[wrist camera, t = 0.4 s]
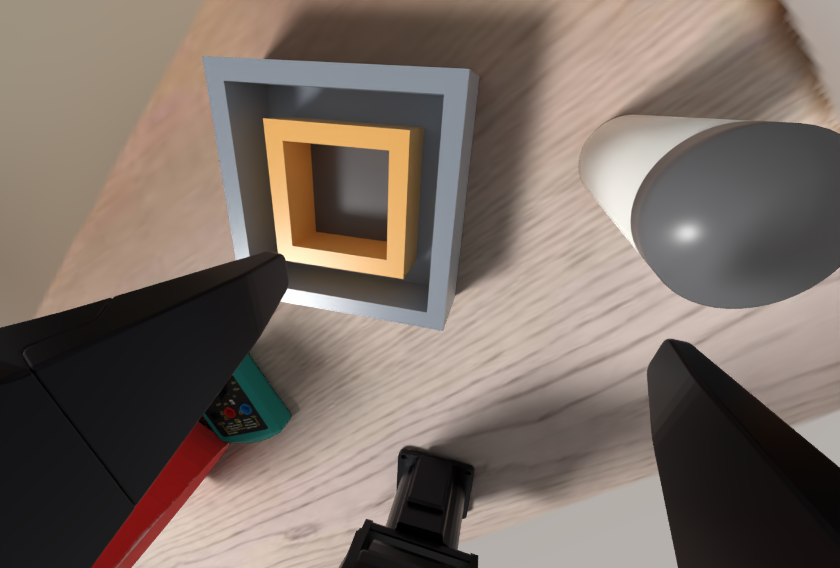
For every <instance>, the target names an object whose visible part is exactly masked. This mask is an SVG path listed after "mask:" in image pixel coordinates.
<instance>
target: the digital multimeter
mask: <svg viewBox="0 0 840 568" xmlns="http://www.w3.org/2000/svg"><path fill="white" fill-rule="evenodd" d="M203 416H204V418H205V419H206V421H207V422H208V423H209V425H210V426H211V428H212V429H213V430H214V432H215V433H216V435H217V436H218V437H219V439H221V440H222V441H223V442H233V443H253V442H258V441H262V440H265V439H268V438H270V437H272V436H274V435H276V434H278V433H280V432H281V431H282V429H283V428H284V427H285V425H286V424H287V423H288V421H289V420H290V418H291V415H290V413H289V411H288V410H287V408H286V407H285V406H284V404H283V403H282V401H281V400H280V399H279V397H278V396H277V395H276V393H275V392H274V390H273V389H272V387H271V386H270V384H269V383H268V381H267V380H266V378H265V377H264V376H263V374H262V373H261V371H260V370H259V368H258V367H257V365H256V364H255V363H254V361H253V360H252V358H251V356H250V355H249V353H248V354H247V355H246V357H245V358H244V359H243V361H242V362H241V364H240V365H239V366H238V368H237V369H236V370H235V372H234V373H233V374H232V376H231V377H230V379H229V380H228V381H227V383H226V384H225V385H224V387H223V388H222V390H221V391H220V392H219V394H218V395H217V396H216V398H215V399H214V400H213V402H212V403H211V405H210V406H209V407H208V409H207V410H206V411H205V413H204V414H203Z"/></svg>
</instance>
